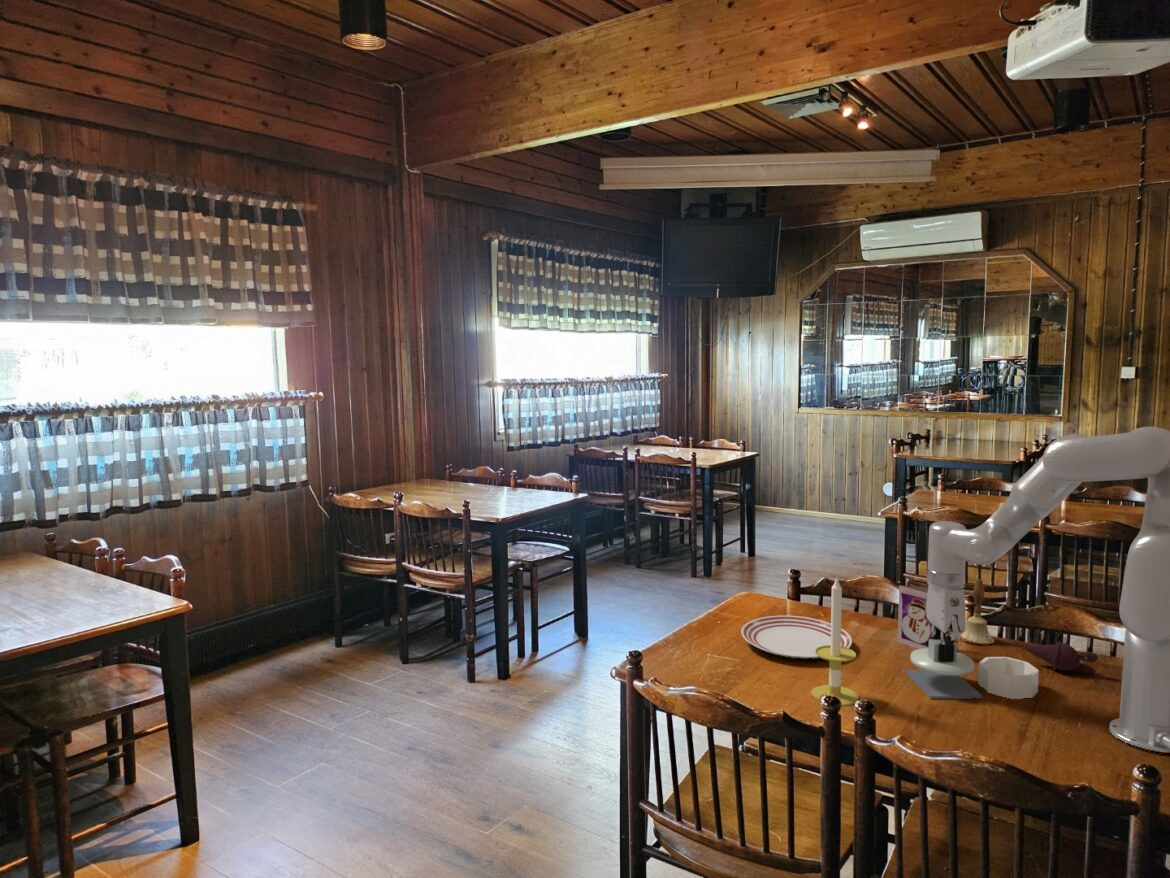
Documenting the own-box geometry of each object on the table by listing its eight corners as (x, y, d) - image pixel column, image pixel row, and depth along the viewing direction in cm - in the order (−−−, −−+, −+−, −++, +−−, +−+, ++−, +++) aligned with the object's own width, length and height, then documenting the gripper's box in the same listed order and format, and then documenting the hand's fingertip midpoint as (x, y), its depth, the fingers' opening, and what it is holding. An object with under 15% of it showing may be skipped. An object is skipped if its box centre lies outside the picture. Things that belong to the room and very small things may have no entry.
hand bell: (963, 631, 208) (965, 573, 206) (997, 638, 203) (1000, 578, 201) (954, 641, 202) (956, 580, 200) (990, 648, 197) (992, 586, 195)
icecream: (1021, 643, 183) (1097, 662, 175) (1026, 626, 189) (1100, 644, 180) (1018, 667, 186) (1093, 687, 177) (1023, 650, 191) (1096, 669, 183)
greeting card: (895, 642, 201) (897, 586, 200) (912, 636, 205) (914, 580, 204) (936, 656, 192) (938, 597, 190) (954, 650, 196) (956, 591, 194)
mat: (982, 698, 169) (982, 695, 169) (930, 698, 169) (930, 696, 169) (952, 671, 183) (952, 669, 183) (905, 672, 183) (905, 669, 183)
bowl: (1045, 698, 168) (1047, 676, 168) (995, 699, 168) (996, 676, 168) (1019, 677, 179) (1019, 656, 178) (971, 678, 179) (972, 657, 179)
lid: (985, 675, 169) (986, 653, 168) (924, 675, 169) (925, 653, 169) (957, 652, 182) (958, 631, 181) (901, 652, 182) (902, 631, 182)
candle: (827, 709, 165) (830, 584, 162) (802, 689, 175) (803, 572, 172) (868, 702, 168) (871, 580, 165) (841, 683, 178) (843, 567, 175)
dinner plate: (876, 656, 194) (876, 643, 193) (783, 674, 184) (783, 661, 183) (805, 621, 219) (806, 609, 219) (721, 636, 209) (721, 624, 209)
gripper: (980, 589, 165) (976, 672, 167) (946, 567, 181) (943, 644, 183) (944, 589, 165) (941, 673, 167) (913, 567, 181) (910, 644, 184)
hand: (942, 657), depth 175 cm, fingers closed on lid, 3 cm apart
